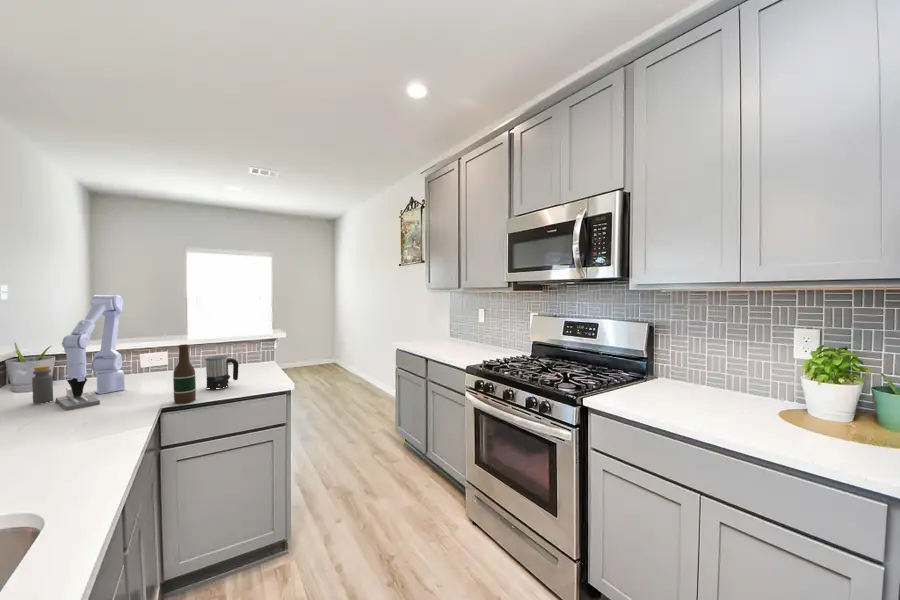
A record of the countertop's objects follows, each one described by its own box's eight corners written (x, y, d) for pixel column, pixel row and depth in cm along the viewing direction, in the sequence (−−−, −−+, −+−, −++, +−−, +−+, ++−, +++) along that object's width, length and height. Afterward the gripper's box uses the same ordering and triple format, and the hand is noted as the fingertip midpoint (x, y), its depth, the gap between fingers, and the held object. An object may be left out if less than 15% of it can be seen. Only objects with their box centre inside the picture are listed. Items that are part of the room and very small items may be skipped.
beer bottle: (200, 399, 168) (199, 344, 167) (182, 404, 161) (181, 346, 160) (187, 397, 171) (185, 342, 170) (169, 402, 164) (167, 345, 162)
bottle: (40, 404, 160) (38, 368, 159) (29, 403, 161) (27, 367, 161) (57, 400, 166) (55, 365, 165) (46, 399, 167) (45, 364, 166)
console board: (87, 395, 172) (87, 390, 172) (99, 404, 161) (99, 398, 161) (55, 401, 164) (55, 396, 164) (66, 410, 153) (66, 404, 153)
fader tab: (80, 394, 168) (80, 385, 168) (83, 396, 166) (82, 387, 166) (66, 397, 165) (66, 388, 164) (68, 398, 162) (68, 389, 162)
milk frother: (211, 391, 181) (211, 359, 180) (194, 386, 189) (194, 356, 189) (242, 384, 193) (241, 355, 192) (224, 380, 201) (224, 351, 201)
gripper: (59, 362, 163) (60, 395, 163) (67, 367, 154) (68, 401, 155) (82, 360, 168) (83, 391, 169) (91, 364, 160) (92, 397, 160)
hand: (77, 396), depth 162 cm, fingers closed
